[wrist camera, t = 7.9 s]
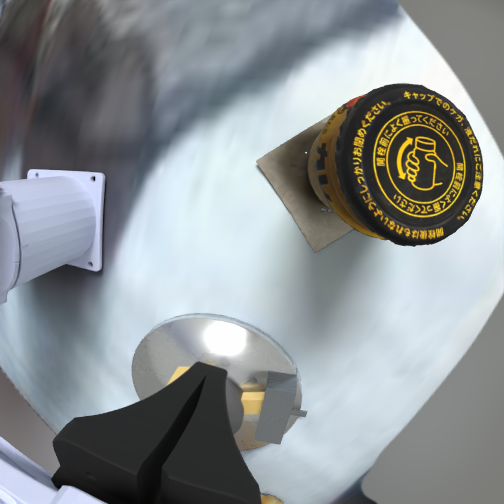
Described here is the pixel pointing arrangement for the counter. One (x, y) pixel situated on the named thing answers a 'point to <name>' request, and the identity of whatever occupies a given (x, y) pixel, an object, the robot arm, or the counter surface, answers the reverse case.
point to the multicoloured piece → (234, 400)
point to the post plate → (227, 357)
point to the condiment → (381, 169)
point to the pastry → (270, 499)
